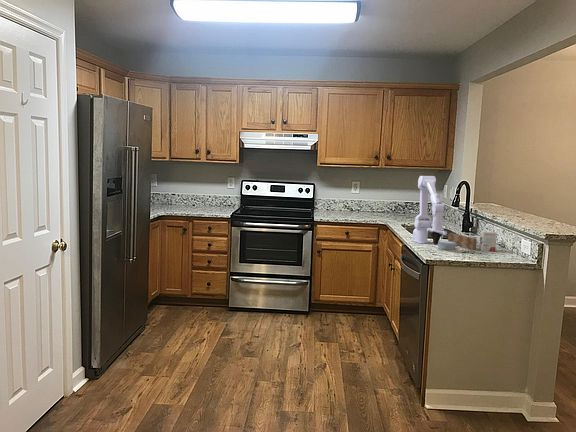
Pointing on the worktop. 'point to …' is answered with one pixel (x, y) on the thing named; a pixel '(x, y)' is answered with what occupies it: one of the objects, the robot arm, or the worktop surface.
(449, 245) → the slate block
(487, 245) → the ink box
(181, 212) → the worktop surface
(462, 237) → the walnut board
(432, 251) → the worktop surface
